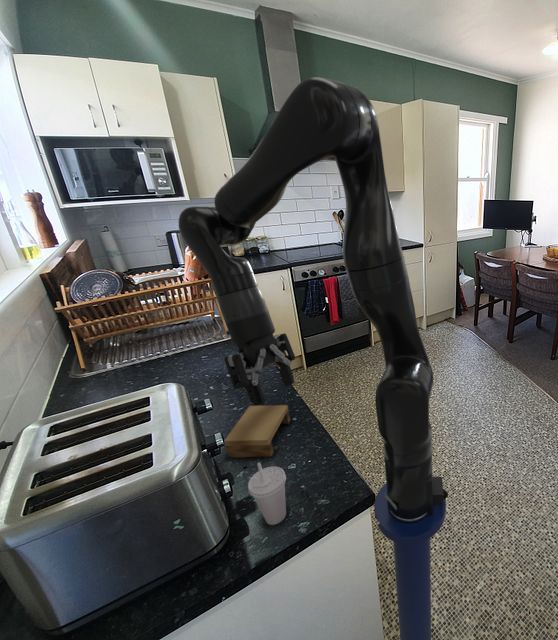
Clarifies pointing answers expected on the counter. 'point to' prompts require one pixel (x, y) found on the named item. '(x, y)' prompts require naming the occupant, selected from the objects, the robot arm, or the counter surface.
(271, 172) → the robot arm
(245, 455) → the bench
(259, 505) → the smoothie
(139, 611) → the counter surface
